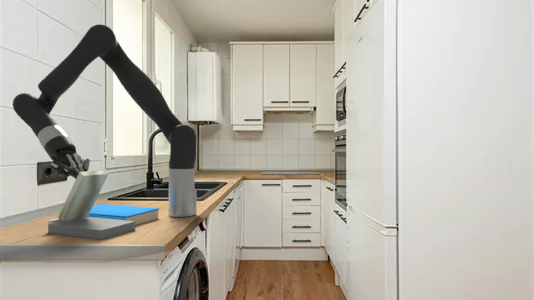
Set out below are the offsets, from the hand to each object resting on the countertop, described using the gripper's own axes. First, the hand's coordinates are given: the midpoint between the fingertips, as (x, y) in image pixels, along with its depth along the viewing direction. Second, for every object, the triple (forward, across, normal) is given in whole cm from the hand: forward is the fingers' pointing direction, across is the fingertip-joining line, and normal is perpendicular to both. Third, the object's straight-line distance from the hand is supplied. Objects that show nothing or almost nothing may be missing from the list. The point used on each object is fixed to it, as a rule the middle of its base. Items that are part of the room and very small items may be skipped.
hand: (85, 184), depth 106 cm
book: (+7, +15, +13) cm, 21 cm away
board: (+12, 0, +8) cm, 14 cm away
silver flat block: (+3, 0, +3) cm, 4 cm away
